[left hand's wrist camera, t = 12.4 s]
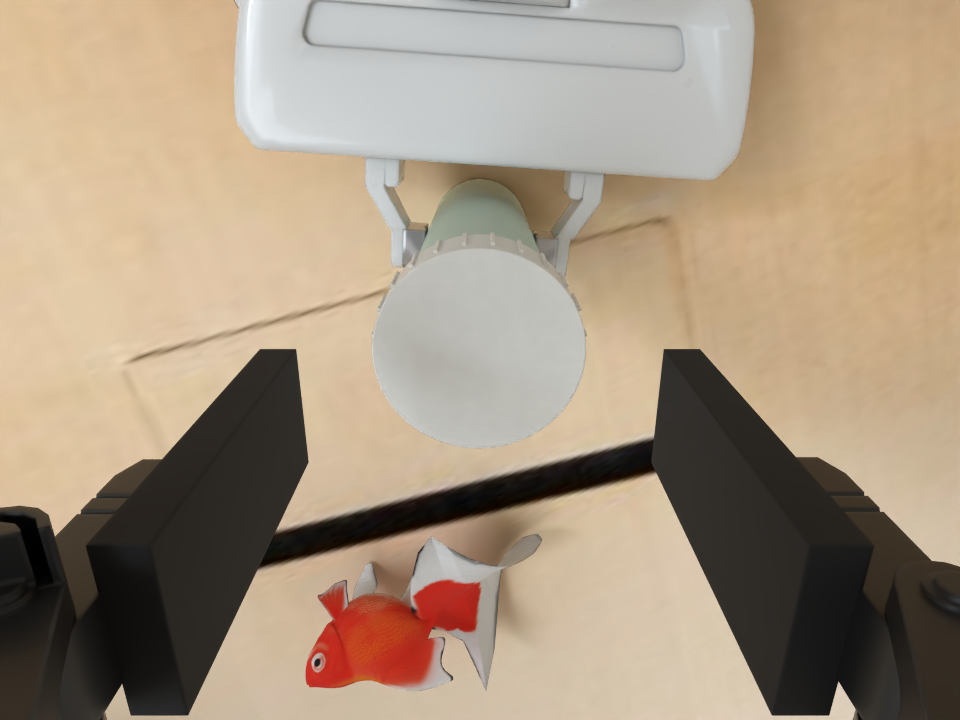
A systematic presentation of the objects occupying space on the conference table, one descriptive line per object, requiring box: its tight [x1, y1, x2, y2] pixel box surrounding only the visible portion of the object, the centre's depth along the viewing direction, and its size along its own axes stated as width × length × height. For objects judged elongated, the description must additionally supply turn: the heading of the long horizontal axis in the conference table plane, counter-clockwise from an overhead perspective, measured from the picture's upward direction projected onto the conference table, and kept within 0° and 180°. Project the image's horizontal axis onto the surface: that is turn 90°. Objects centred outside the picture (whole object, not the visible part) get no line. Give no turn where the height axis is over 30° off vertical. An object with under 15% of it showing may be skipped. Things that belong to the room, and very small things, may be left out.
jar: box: [419, 179, 540, 254], centre depth 26 cm, size 5×5×19 cm
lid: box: [372, 232, 587, 448], centre depth 18 cm, size 6×6×2 cm
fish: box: [306, 534, 542, 691], centre depth 39 cm, size 11×16×10 cm
